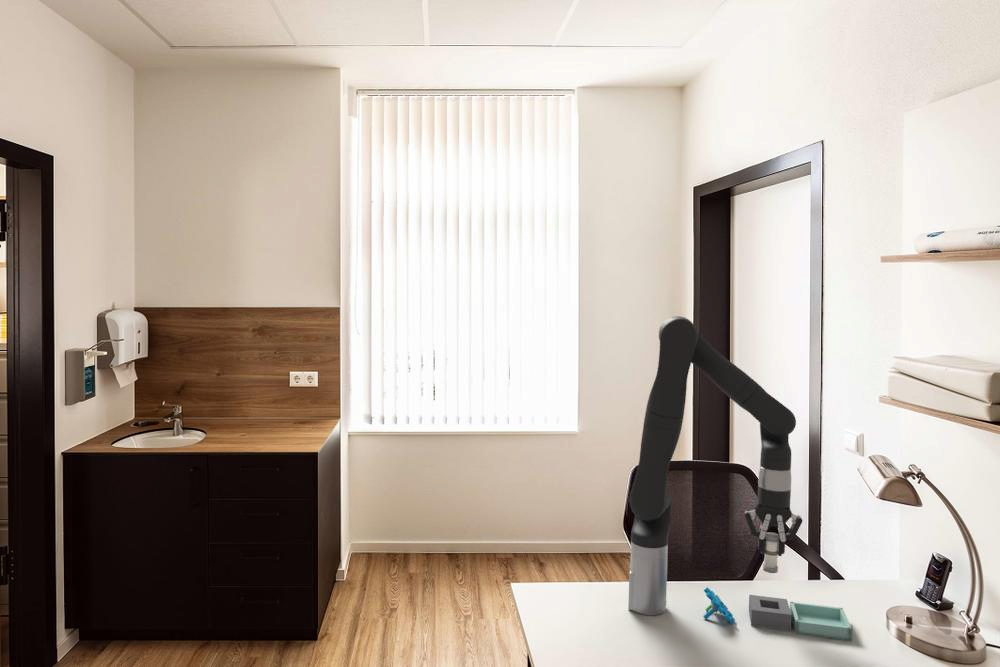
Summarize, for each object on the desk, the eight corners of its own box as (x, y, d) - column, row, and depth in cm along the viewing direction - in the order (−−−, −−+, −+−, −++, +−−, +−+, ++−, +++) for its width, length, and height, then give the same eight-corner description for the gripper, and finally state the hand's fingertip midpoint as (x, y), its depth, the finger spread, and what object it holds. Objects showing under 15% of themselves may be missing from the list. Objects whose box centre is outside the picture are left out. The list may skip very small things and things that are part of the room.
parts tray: (795, 633, 170) (795, 621, 170) (789, 613, 181) (790, 601, 180) (851, 641, 167) (851, 628, 166) (842, 619, 177) (842, 608, 177)
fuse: (763, 572, 175) (765, 536, 174) (762, 566, 178) (764, 531, 177) (778, 573, 174) (780, 537, 173) (777, 568, 177) (778, 533, 177)
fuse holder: (751, 625, 174) (751, 609, 173) (748, 609, 182) (749, 594, 182) (790, 630, 171) (791, 614, 171) (786, 614, 180) (786, 599, 180)
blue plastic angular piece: (738, 625, 170) (708, 591, 172) (720, 641, 171) (690, 607, 173) (735, 611, 181) (707, 580, 183) (717, 626, 182) (689, 594, 184)
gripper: (745, 486, 173) (741, 556, 174) (807, 492, 169) (804, 563, 170) (743, 478, 180) (740, 545, 181) (803, 484, 176) (799, 552, 177)
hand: (771, 553), depth 176 cm, fingers closed on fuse, 3 cm apart
